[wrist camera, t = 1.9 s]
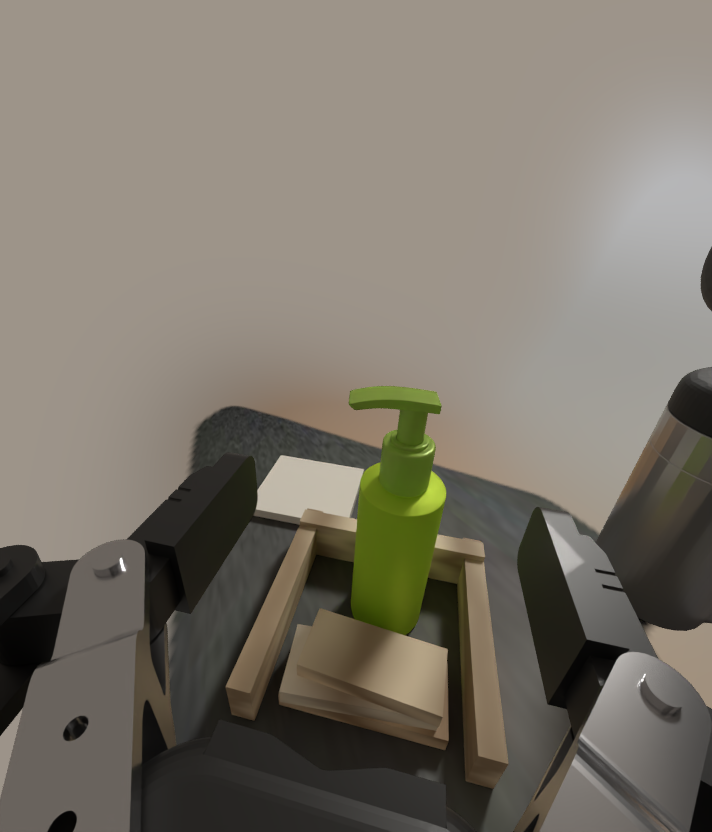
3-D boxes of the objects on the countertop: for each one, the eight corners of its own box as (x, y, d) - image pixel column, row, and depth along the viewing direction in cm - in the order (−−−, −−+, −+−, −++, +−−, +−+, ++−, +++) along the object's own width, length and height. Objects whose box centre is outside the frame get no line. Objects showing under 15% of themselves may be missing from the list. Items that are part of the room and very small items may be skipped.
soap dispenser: (341, 572, 34) (352, 371, 25) (415, 577, 34) (456, 378, 25) (335, 636, 29) (346, 413, 19) (423, 642, 29) (478, 421, 19)
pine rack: (473, 566, 36) (482, 537, 34) (493, 788, 22) (510, 760, 20) (307, 533, 38) (307, 504, 36) (231, 714, 24) (224, 682, 22)
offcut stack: (444, 669, 27) (454, 639, 25) (445, 757, 23) (456, 728, 21) (301, 635, 29) (300, 603, 27) (276, 710, 25) (273, 679, 23)
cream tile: (363, 475, 47) (364, 469, 46) (345, 533, 38) (346, 526, 38) (281, 461, 49) (281, 455, 48) (246, 514, 40) (246, 507, 39)
